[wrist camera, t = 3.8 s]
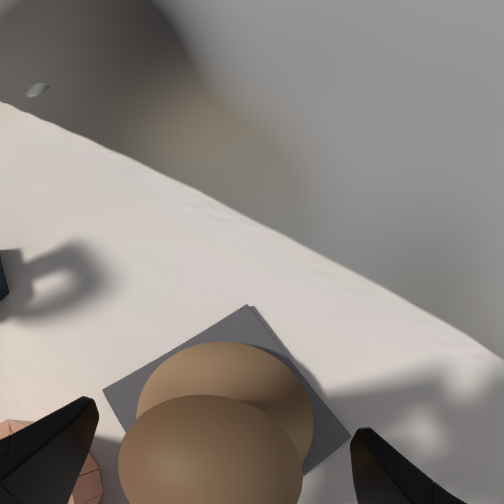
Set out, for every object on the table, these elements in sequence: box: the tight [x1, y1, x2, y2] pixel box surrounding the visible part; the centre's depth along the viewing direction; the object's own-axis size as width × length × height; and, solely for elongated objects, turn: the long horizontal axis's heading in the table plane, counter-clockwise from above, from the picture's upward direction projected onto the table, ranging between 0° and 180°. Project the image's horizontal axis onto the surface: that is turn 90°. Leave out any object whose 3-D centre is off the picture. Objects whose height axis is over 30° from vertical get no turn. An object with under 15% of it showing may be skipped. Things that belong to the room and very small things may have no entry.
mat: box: [102, 304, 351, 475], centre depth 14 cm, size 11×11×1 cm
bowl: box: [0, 419, 103, 504], centre depth 9 cm, size 7×7×4 cm
